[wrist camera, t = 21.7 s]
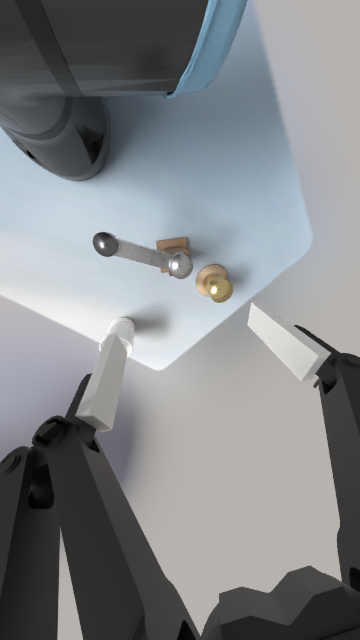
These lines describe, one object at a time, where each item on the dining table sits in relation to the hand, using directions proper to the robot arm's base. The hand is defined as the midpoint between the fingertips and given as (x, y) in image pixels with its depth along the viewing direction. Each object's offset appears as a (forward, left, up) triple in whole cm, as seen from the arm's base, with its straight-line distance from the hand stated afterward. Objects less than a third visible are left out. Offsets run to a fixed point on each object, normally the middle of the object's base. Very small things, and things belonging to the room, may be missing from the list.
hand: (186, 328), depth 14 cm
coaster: (+5, +12, -27) cm, 30 cm away
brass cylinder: (+6, +12, -26) cm, 29 cm away
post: (-3, +2, -27) cm, 27 cm away
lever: (-5, -3, -16) cm, 17 cm away
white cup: (+15, -16, -27) cm, 35 cm away
